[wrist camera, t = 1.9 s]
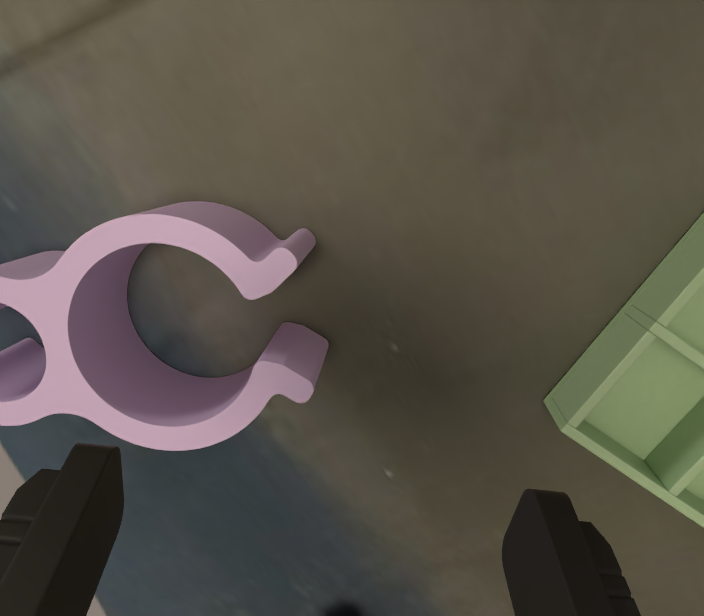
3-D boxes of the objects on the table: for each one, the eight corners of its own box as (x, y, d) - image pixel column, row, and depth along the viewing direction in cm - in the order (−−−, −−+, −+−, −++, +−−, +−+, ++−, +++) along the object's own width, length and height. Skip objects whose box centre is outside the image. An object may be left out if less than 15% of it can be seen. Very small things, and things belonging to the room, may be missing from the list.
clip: (35, 410, 40) (-39, 464, 33) (-14, 222, 36) (-106, 239, 30) (334, 389, 38) (320, 441, 31) (309, 188, 35) (288, 198, 28)
